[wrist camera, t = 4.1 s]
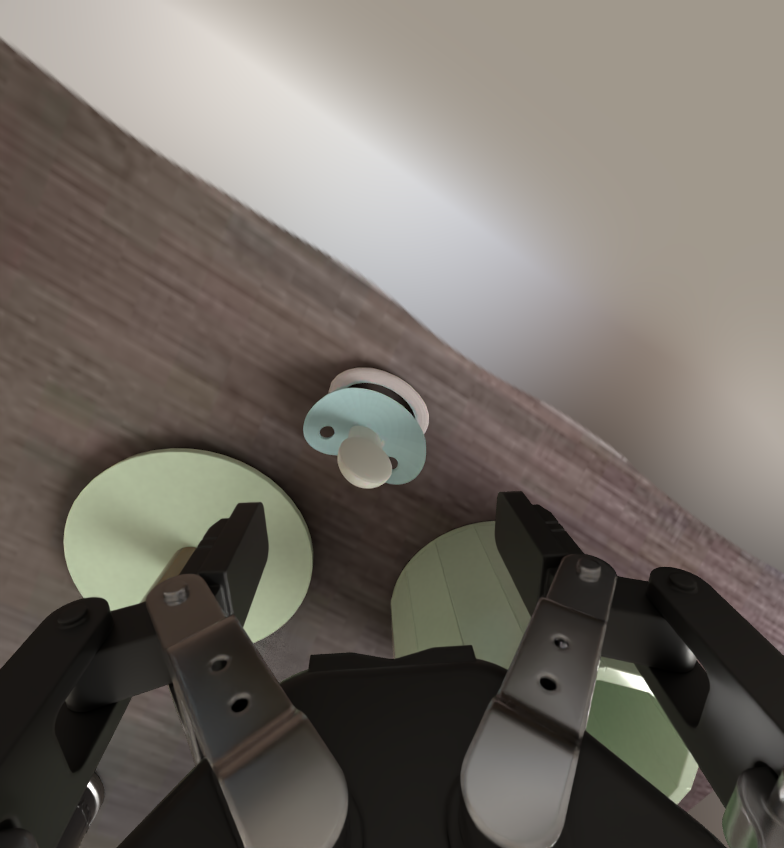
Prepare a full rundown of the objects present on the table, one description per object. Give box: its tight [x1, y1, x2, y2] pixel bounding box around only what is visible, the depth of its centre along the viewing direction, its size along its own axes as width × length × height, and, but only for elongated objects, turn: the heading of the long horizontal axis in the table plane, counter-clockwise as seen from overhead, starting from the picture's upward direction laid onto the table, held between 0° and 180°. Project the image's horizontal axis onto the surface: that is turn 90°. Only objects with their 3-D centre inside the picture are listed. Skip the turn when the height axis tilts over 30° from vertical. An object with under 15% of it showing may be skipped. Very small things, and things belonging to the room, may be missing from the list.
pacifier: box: [303, 367, 429, 489], centre depth 22 cm, size 7×6×6 cm
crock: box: [391, 521, 699, 804], centre depth 25 cm, size 14×14×12 cm
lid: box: [63, 448, 313, 643], centre depth 24 cm, size 15×15×6 cm
